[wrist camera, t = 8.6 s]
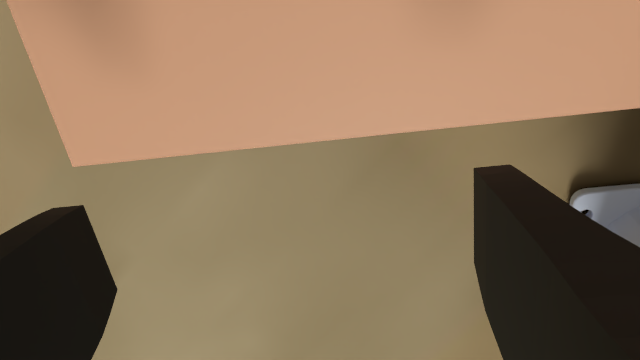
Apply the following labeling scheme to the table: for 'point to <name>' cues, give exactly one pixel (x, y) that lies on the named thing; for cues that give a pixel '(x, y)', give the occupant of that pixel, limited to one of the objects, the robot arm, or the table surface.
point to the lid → (317, 68)
